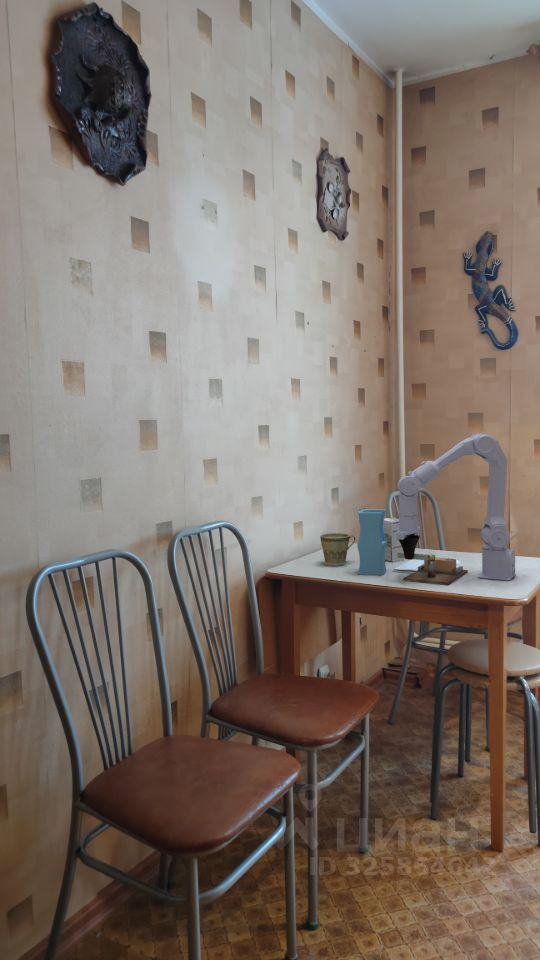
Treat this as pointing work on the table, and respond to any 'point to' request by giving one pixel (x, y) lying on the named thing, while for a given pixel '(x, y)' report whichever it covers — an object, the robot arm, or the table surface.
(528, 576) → the table surface
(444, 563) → the brown rectangular block
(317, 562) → the table surface
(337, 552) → the ceramic cup
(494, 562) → the robot arm
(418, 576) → the keeper board
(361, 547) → the vase
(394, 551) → the syrup box
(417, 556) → the keeper bar
